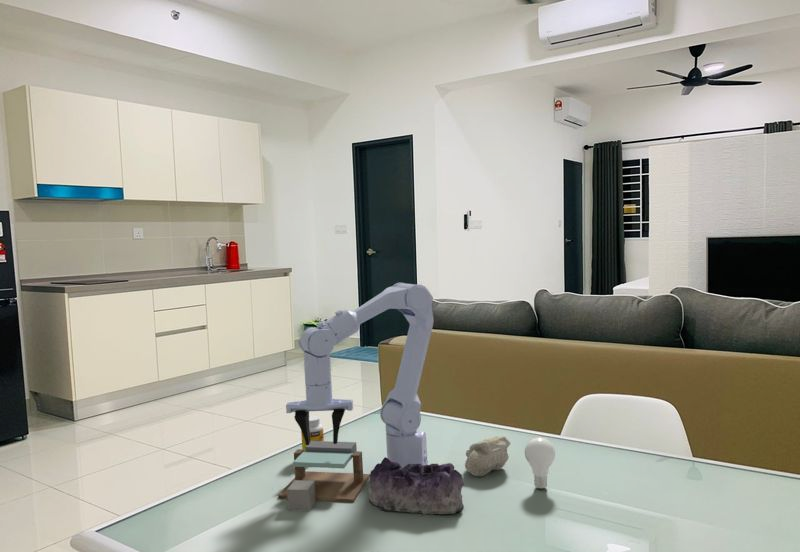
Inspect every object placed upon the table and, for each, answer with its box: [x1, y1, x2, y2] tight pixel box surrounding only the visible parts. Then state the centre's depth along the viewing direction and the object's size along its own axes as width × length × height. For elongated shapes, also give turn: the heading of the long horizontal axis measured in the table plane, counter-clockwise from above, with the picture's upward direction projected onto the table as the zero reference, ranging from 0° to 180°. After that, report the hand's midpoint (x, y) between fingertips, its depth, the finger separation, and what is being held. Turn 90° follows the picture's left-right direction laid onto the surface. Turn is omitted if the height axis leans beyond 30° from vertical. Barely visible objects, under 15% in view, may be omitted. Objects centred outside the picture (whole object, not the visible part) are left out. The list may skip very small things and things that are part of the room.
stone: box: [287, 480, 317, 512], centre depth 123 cm, size 4×4×4 cm
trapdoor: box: [292, 440, 358, 470], centre depth 133 cm, size 12×11×2 cm
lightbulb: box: [524, 436, 556, 490], centre depth 126 cm, size 6×6×11 cm
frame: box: [277, 448, 370, 503], centre depth 131 cm, size 17×13×7 cm
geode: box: [368, 456, 465, 515], centre depth 121 cm, size 20×12×10 cm, turn 81°
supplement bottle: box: [300, 415, 325, 452], centre depth 149 cm, size 6×6×10 cm
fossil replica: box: [464, 435, 511, 478], centre depth 136 cm, size 12×8×10 cm
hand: (321, 442), depth 130 cm, fingers open, 5 cm apart
